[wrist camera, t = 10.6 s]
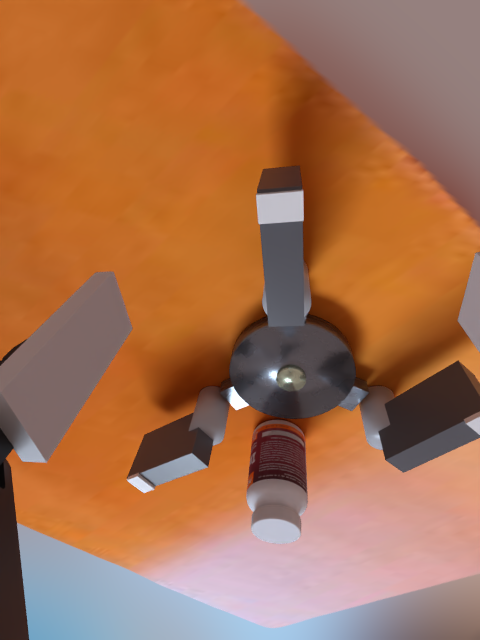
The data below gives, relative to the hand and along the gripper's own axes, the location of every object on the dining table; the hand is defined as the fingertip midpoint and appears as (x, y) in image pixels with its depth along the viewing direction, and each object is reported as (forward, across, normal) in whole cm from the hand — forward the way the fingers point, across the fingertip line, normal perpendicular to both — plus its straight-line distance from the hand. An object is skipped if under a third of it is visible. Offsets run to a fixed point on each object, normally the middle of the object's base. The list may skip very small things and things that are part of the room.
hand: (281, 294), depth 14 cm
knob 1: (+16, -12, -24) cm, 31 cm away
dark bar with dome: (+16, +11, -19) cm, 27 cm away
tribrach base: (+16, 0, -17) cm, 23 cm away
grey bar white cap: (+16, 0, -3) cm, 16 cm away
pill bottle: (+16, -2, -28) cm, 33 cm away
